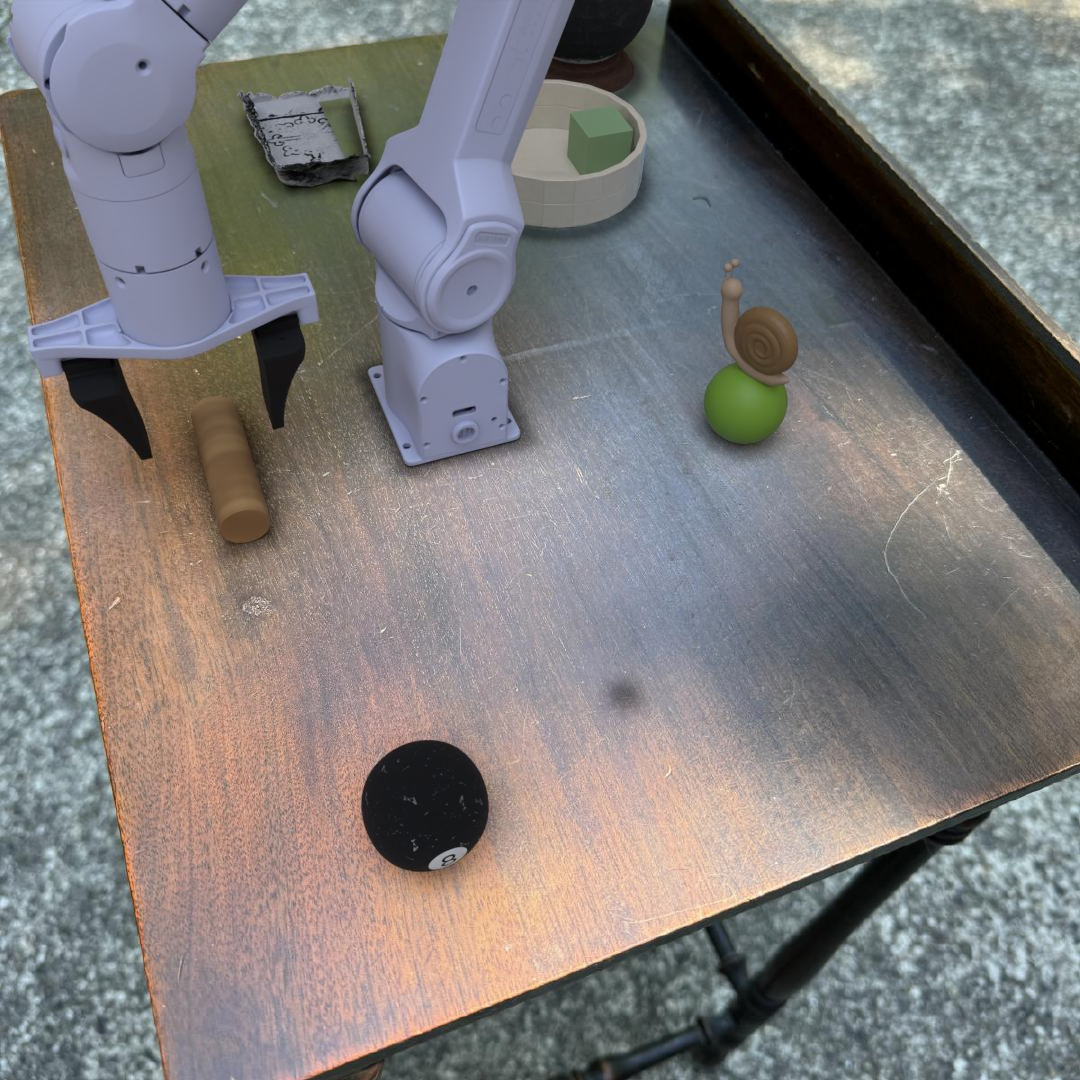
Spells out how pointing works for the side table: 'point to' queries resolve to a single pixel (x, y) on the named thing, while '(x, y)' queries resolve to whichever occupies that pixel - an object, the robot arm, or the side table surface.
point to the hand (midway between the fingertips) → (210, 432)
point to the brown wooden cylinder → (229, 470)
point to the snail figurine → (750, 369)
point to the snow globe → (599, 43)
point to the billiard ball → (424, 805)
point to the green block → (598, 139)
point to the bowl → (551, 177)
